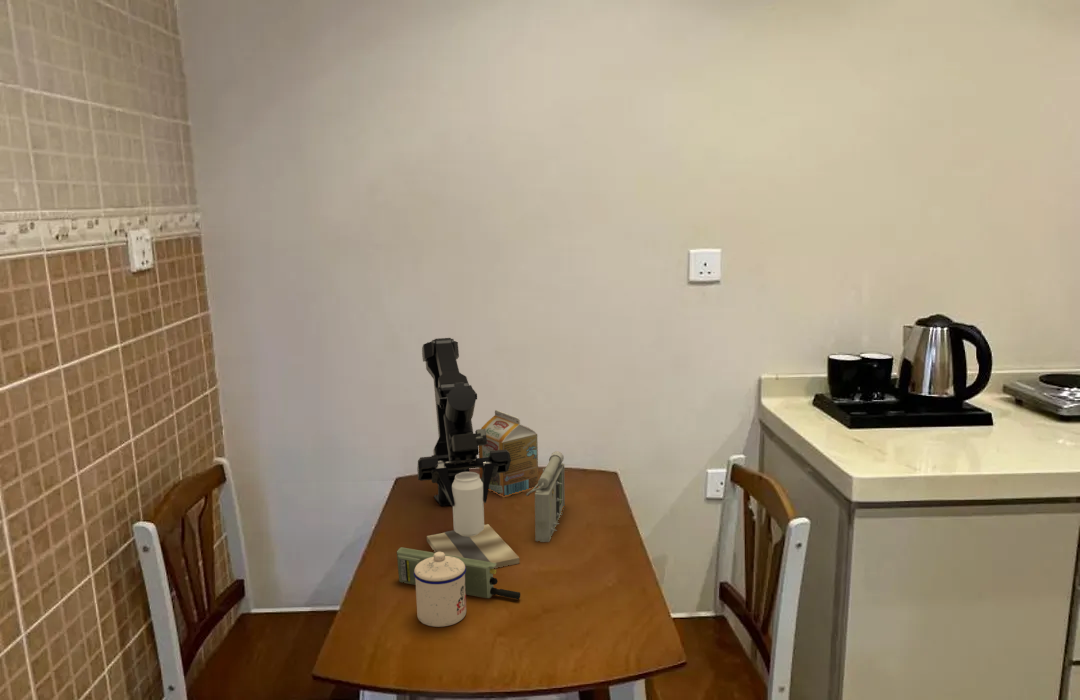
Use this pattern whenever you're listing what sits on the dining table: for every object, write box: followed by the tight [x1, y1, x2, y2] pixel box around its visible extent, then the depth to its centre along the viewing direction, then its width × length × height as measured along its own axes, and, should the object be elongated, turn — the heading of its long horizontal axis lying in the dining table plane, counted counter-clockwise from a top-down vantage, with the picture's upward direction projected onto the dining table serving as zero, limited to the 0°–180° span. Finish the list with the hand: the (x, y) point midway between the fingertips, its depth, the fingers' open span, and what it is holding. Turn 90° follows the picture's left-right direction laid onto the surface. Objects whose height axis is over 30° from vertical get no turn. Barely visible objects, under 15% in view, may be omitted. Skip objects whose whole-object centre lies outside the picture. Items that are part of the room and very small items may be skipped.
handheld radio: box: [396, 547, 521, 600], centre depth 150 cm, size 7×3×25 cm
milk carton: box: [478, 409, 539, 496], centre depth 200 cm, size 11×11×19 cm
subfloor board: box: [426, 523, 520, 569], centre depth 166 cm, size 18×14×1 cm
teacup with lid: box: [414, 552, 467, 628], centre depth 142 cm, size 12×9×12 cm
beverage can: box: [452, 471, 485, 536], centre depth 161 cm, size 6×6×12 cm
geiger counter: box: [525, 450, 566, 543], centre depth 181 cm, size 14×6×25 cm
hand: (469, 503), depth 160 cm, fingers closed on beverage can, 6 cm apart
